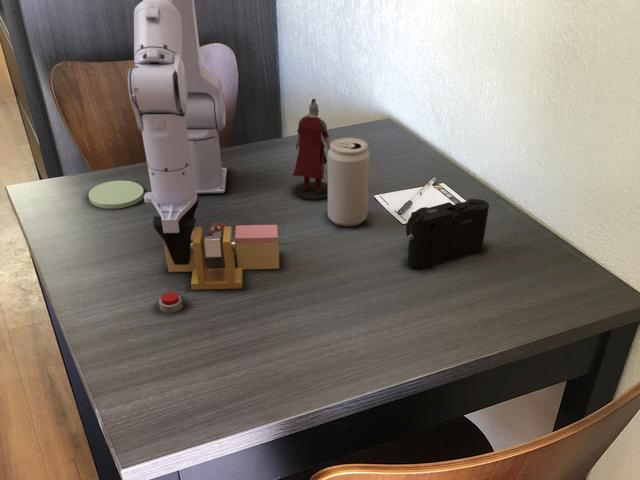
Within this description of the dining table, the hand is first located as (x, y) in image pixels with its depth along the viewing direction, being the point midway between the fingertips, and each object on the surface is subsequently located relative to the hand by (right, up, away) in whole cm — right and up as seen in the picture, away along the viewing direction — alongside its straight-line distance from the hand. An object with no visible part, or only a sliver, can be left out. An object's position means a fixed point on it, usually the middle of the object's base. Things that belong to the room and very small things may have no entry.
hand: (183, 255), depth 106 cm
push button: (0, -9, -7) cm, 11 cm away
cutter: (+5, +1, -1) cm, 5 cm away
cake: (+11, -1, +2) cm, 11 cm away
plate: (-15, +14, +17) cm, 26 cm away
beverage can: (+24, +9, +12) cm, 28 cm away
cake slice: (0, -1, +1) cm, 2 cm away
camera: (+38, +2, +5) cm, 38 cm away
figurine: (+18, +16, +19) cm, 31 cm away
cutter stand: (+5, -4, -2) cm, 7 cm away
